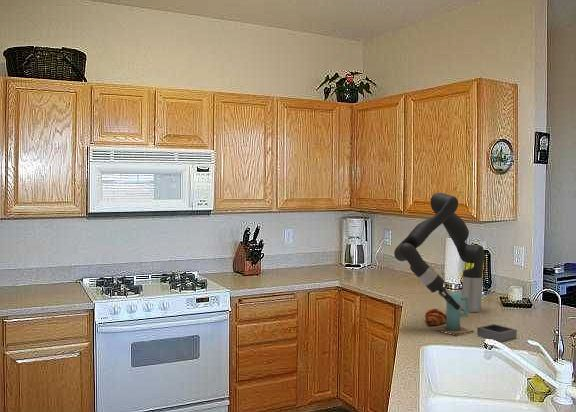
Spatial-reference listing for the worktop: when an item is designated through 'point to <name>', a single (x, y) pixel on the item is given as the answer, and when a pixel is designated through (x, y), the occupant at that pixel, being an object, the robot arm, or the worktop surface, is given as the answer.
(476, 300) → the robot arm
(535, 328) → the worktop surface
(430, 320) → the croissant
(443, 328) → the board
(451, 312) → the jug
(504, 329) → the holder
